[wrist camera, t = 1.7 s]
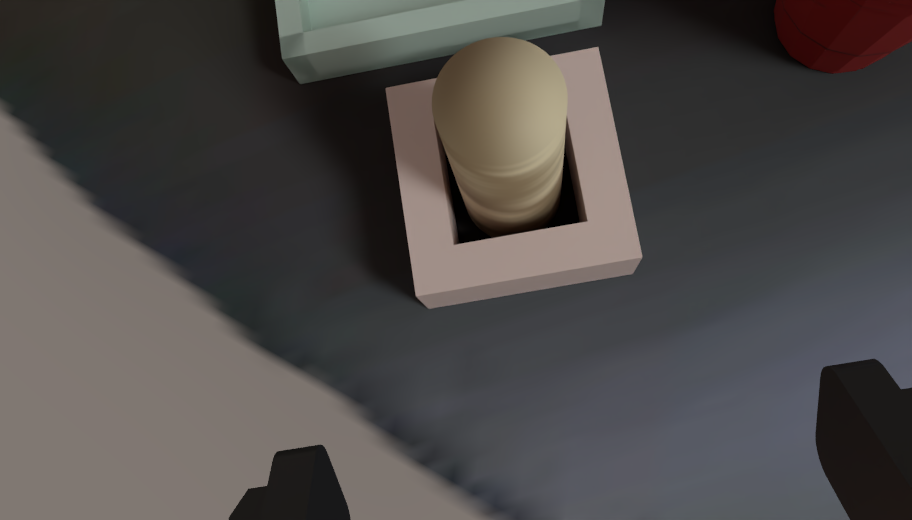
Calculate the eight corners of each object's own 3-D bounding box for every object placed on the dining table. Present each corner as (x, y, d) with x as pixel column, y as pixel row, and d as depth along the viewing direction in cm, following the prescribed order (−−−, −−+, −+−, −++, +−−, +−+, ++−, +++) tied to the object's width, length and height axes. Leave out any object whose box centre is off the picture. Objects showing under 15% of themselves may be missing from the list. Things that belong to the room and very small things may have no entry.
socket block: (593, 82, 41) (598, 47, 37) (632, 273, 38) (642, 257, 35) (400, 119, 41) (385, 88, 37) (428, 308, 39) (415, 296, 35)
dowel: (551, 140, 40) (554, 25, 29) (569, 231, 39) (579, 151, 28) (457, 157, 41) (422, 50, 29) (472, 248, 40) (442, 176, 28)
